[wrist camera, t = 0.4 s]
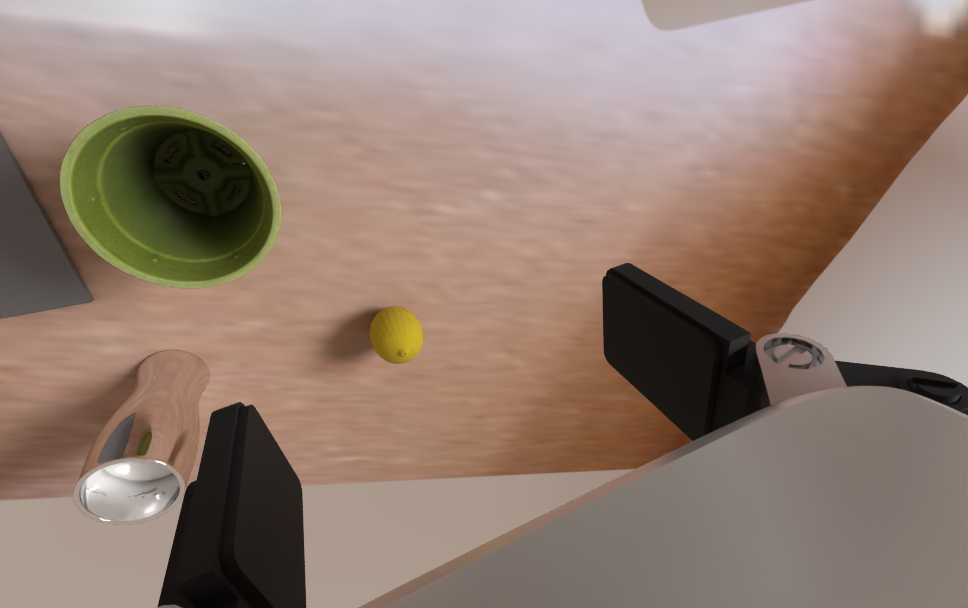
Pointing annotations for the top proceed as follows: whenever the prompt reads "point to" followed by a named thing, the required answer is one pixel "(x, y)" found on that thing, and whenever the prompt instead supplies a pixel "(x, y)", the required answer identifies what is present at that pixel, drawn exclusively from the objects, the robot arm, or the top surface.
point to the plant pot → (169, 197)
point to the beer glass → (146, 444)
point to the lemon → (396, 335)
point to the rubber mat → (31, 250)
